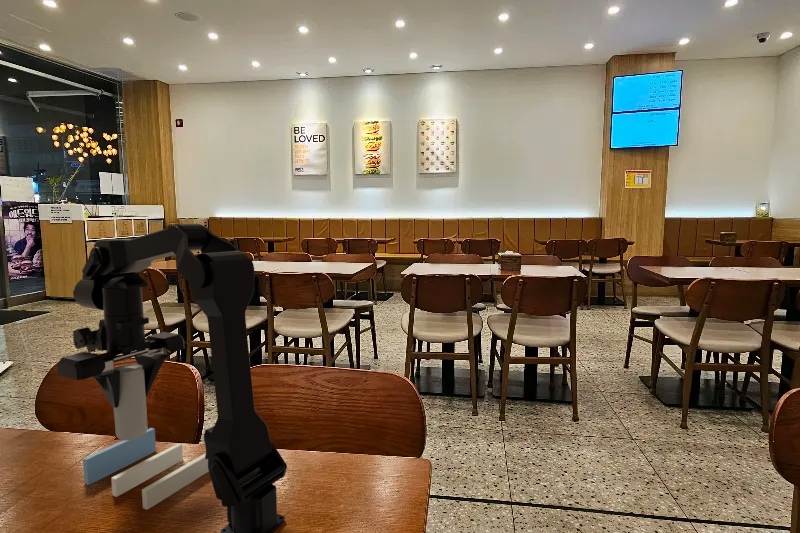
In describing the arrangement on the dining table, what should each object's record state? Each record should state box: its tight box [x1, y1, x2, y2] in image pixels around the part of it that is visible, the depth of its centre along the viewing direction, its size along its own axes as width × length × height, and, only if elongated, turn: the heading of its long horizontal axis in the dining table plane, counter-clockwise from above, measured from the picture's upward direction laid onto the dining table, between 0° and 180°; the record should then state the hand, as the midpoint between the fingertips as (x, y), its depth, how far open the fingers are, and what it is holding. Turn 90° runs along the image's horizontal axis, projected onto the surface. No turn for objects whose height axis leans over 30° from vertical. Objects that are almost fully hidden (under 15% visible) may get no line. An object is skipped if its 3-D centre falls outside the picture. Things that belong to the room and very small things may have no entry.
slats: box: [82, 427, 209, 510], centre depth 77 cm, size 16×12×4 cm
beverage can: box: [113, 363, 149, 441], centre depth 77 cm, size 5×5×12 cm
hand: (129, 401), depth 77 cm, fingers closed on beverage can, 5 cm apart
